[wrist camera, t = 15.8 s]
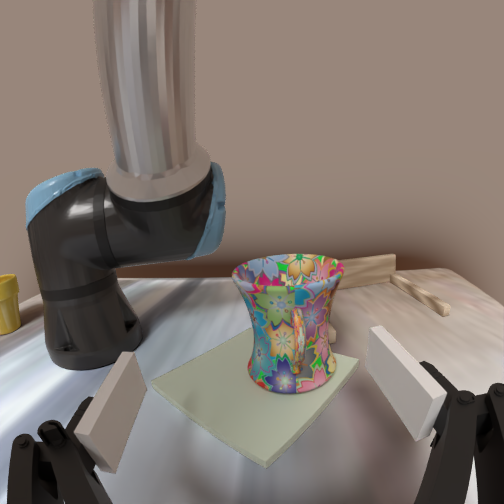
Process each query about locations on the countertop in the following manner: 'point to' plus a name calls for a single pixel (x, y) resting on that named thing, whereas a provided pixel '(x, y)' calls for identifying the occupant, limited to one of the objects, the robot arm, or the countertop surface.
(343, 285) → the mug holder
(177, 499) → the countertop surface
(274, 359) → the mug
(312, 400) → the board
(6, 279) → the plant pot
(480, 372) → the countertop surface
